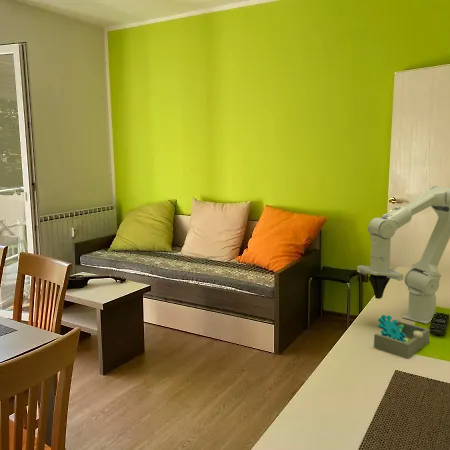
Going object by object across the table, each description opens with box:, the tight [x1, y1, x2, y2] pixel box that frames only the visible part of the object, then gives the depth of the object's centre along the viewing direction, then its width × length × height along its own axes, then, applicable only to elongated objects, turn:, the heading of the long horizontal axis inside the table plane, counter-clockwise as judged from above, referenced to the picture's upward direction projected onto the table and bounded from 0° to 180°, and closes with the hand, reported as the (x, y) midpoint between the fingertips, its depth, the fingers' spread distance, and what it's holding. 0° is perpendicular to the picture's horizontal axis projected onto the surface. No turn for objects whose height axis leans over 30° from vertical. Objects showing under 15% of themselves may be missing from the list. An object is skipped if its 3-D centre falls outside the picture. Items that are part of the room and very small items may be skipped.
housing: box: [373, 319, 431, 359], centre depth 131 cm, size 14×11×5 cm
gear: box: [377, 314, 407, 343], centre depth 134 cm, size 11×6×10 cm
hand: (378, 297), depth 144 cm, fingers closed
